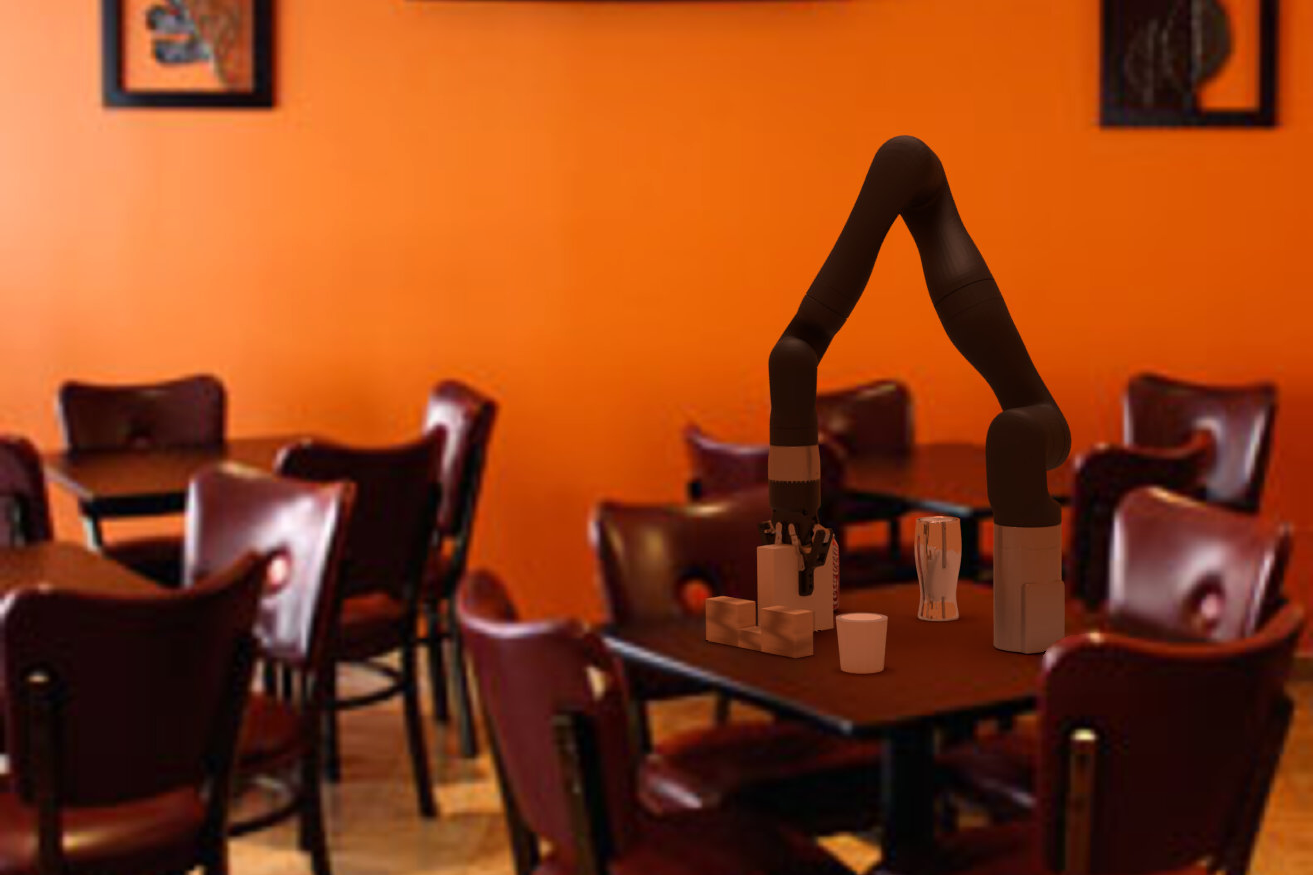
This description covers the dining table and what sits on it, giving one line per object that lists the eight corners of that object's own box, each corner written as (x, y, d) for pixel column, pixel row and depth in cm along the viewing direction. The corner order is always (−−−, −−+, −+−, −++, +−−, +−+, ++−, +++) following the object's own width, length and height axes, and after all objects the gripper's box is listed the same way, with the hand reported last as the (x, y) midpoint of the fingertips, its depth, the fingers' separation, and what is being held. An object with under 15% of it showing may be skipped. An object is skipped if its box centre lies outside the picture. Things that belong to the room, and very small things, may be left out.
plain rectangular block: (833, 628, 279) (832, 540, 278) (774, 639, 272) (773, 549, 270) (816, 625, 282) (815, 538, 281) (758, 636, 274) (757, 546, 273)
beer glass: (964, 621, 283) (964, 521, 281) (917, 622, 283) (917, 522, 281) (958, 613, 289) (957, 515, 288) (912, 614, 290) (911, 516, 288)
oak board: (813, 654, 260) (812, 611, 260) (795, 658, 258) (795, 614, 258) (723, 637, 274) (723, 595, 273) (706, 640, 272) (705, 598, 271)
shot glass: (854, 661, 255) (854, 609, 255) (898, 667, 251) (898, 615, 250) (825, 670, 250) (825, 617, 249) (869, 676, 246) (869, 622, 245)
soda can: (839, 607, 296) (839, 531, 295) (839, 615, 289) (838, 537, 288) (794, 607, 297) (793, 531, 296) (793, 615, 290) (792, 537, 289)
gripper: (847, 477, 272) (848, 596, 273) (778, 470, 283) (779, 585, 284) (810, 481, 267) (812, 603, 268) (741, 474, 278) (743, 591, 279)
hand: (795, 593), depth 276 cm, fingers closed on plain rectangular block, 3 cm apart
